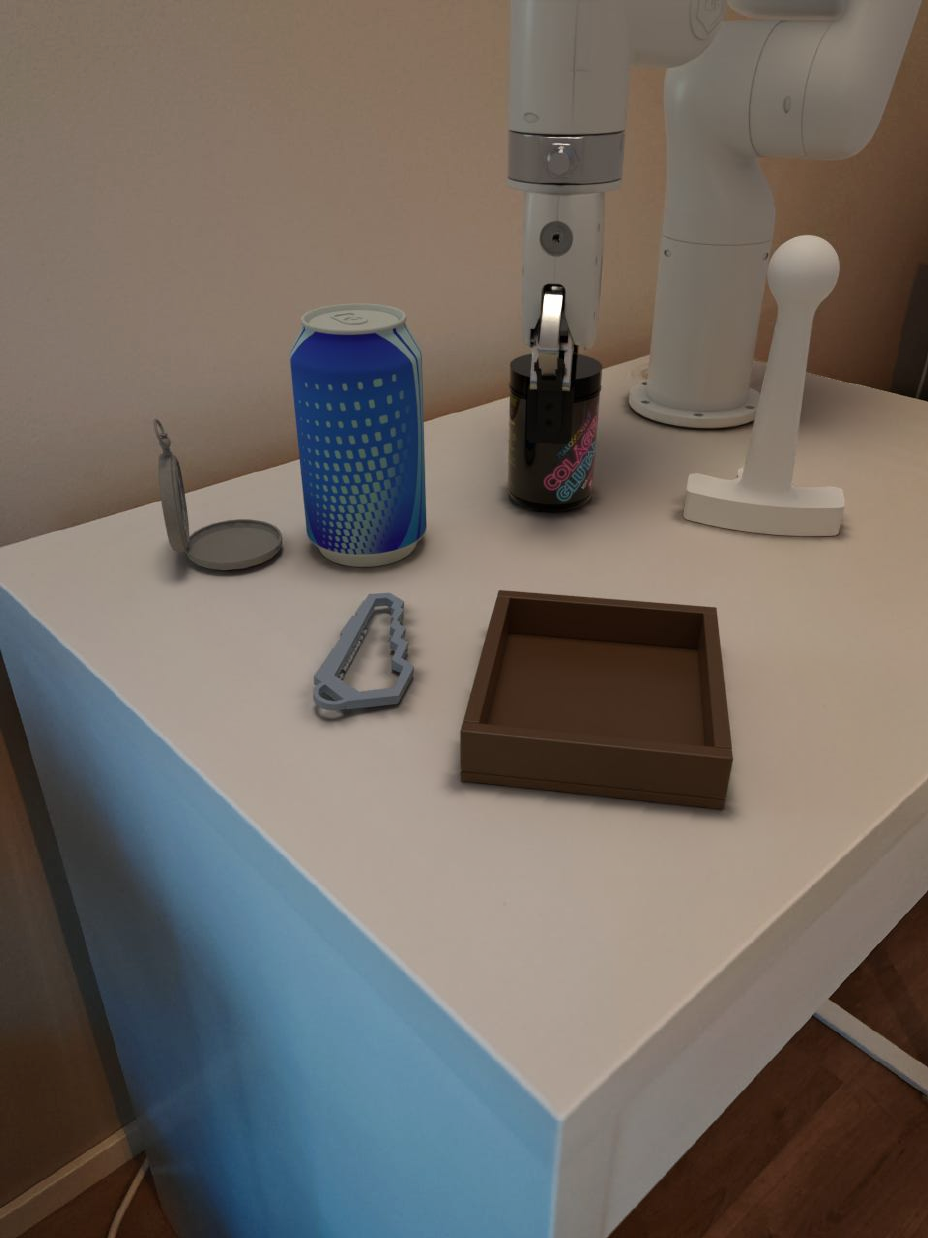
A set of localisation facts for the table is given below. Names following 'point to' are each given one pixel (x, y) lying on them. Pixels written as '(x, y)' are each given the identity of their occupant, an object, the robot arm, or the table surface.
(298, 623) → the table surface
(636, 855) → the table surface
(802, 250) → the joystick
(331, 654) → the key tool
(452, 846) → the table surface
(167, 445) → the pocket watch
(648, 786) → the tray
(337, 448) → the beer can
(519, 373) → the supplement container
